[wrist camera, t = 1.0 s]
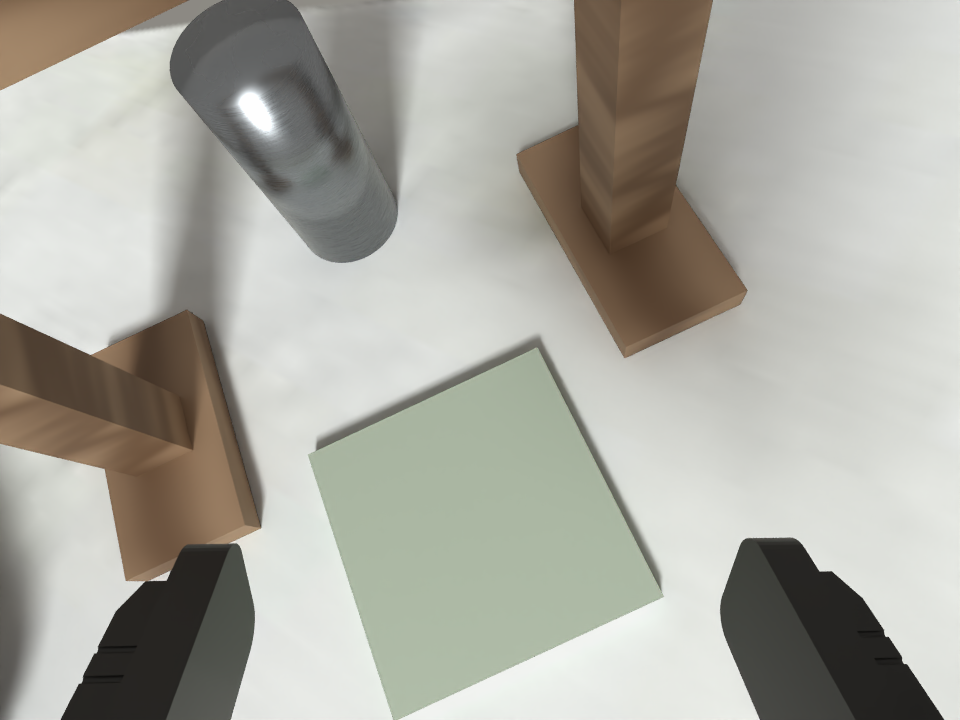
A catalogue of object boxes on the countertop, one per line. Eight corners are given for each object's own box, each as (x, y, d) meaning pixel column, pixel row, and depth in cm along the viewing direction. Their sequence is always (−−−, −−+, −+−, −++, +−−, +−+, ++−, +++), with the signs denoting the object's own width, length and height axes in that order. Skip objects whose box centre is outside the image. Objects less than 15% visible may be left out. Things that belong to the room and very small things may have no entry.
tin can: (339, 162, 37) (228, -23, 26) (416, 198, 35) (333, 15, 24) (283, 238, 36) (142, 79, 24) (360, 278, 34) (246, 126, 23)
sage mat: (538, 352, 31) (537, 347, 30) (661, 596, 26) (663, 596, 26) (314, 457, 31) (307, 454, 30) (399, 717, 26) (393, 721, 26)
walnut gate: (620, 124, 34) (664, -682, 13) (740, 304, 30) (1133, -460, 8) (104, 367, 35) (-725, -5, 13) (147, 581, 30) (-1009, 565, 8)
